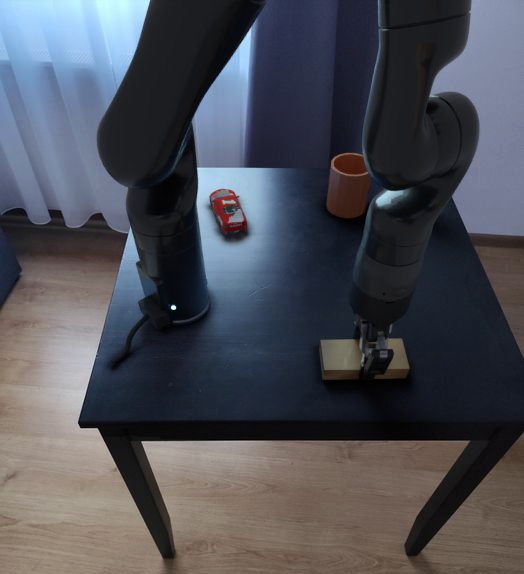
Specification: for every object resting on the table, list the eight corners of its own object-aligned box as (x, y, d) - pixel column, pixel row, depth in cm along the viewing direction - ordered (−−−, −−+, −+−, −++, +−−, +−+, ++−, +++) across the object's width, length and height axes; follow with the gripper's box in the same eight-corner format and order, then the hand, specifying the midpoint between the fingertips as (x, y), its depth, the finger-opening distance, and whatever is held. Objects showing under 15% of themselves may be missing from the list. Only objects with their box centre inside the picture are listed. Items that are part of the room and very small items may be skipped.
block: (322, 379, 68) (324, 370, 67) (319, 349, 72) (320, 339, 70) (405, 378, 68) (409, 368, 67) (398, 348, 72) (402, 338, 70)
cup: (346, 223, 91) (352, 181, 84) (318, 204, 95) (322, 162, 88) (374, 207, 94) (383, 165, 87) (345, 190, 98) (352, 148, 91)
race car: (207, 200, 96) (205, 182, 93) (234, 195, 97) (232, 177, 94) (221, 240, 88) (220, 222, 85) (250, 235, 89) (249, 216, 86)
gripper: (345, 237, 61) (331, 324, 74) (362, 321, 52) (342, 403, 65) (404, 236, 61) (379, 324, 74) (431, 320, 52) (397, 402, 65)
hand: (362, 361), depth 70 cm, fingers closed on block, 5 cm apart
